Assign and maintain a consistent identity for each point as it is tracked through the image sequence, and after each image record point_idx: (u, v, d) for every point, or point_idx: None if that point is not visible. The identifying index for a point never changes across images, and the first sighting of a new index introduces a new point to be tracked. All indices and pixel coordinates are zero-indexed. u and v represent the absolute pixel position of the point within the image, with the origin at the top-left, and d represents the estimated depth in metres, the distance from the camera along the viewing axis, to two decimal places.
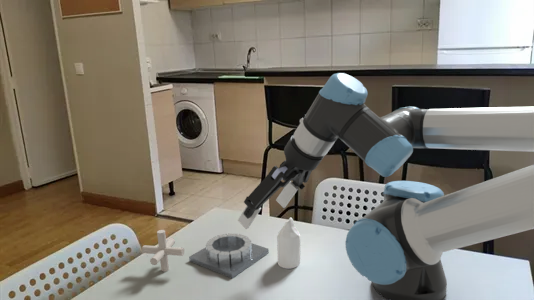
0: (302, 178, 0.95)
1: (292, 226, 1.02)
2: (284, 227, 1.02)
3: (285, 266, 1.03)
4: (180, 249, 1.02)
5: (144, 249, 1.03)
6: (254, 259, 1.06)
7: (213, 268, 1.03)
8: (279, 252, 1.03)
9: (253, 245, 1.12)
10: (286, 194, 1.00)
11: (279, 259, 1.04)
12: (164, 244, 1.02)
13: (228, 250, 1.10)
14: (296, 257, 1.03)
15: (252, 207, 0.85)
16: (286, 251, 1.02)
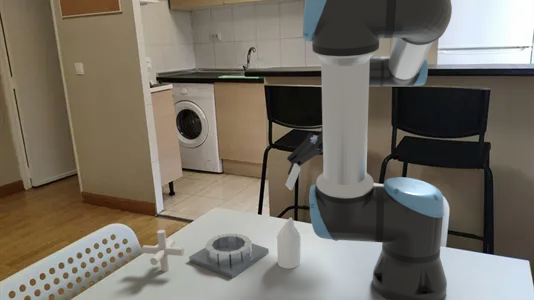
0: None
1: (292, 226, 1.02)
2: (284, 227, 1.02)
3: (285, 266, 1.03)
4: (180, 249, 1.02)
5: (144, 249, 1.03)
6: (254, 259, 1.06)
7: (213, 268, 1.03)
8: (279, 252, 1.03)
9: (253, 245, 1.12)
10: None
11: (279, 259, 1.04)
12: (164, 244, 1.02)
13: (228, 250, 1.10)
14: (296, 257, 1.03)
15: None
16: (286, 251, 1.02)
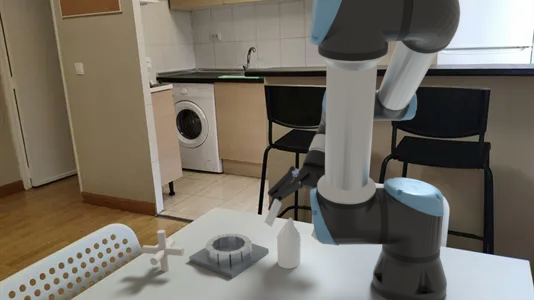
0: None
1: (292, 226, 1.02)
2: (284, 227, 1.02)
3: (285, 266, 1.03)
4: (180, 249, 1.02)
5: (144, 249, 1.03)
6: (254, 259, 1.06)
7: (213, 268, 1.03)
8: (279, 252, 1.03)
9: (253, 245, 1.12)
10: None
11: (279, 259, 1.04)
12: (164, 244, 1.02)
13: (228, 250, 1.10)
14: (296, 257, 1.03)
15: None
16: (286, 251, 1.02)
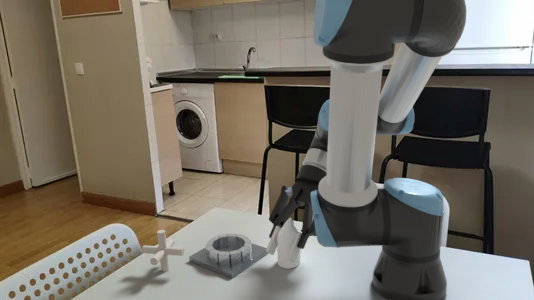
0: (307, 215, 1.03)
1: (292, 226, 1.02)
2: (284, 227, 1.02)
3: (285, 266, 1.03)
4: (180, 249, 1.02)
5: (144, 249, 1.03)
6: (254, 259, 1.06)
7: (213, 268, 1.03)
8: (278, 252, 1.03)
9: (253, 245, 1.12)
10: None
11: (279, 259, 1.04)
12: (164, 244, 1.02)
13: (228, 250, 1.10)
14: None
15: None
16: (286, 251, 1.02)
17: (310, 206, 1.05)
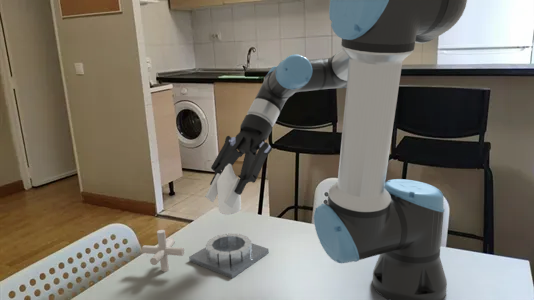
0: (246, 162, 1.04)
1: (231, 172, 1.03)
2: (222, 173, 1.03)
3: (224, 212, 1.04)
4: (180, 249, 1.02)
5: (144, 249, 1.03)
6: (254, 259, 1.06)
7: (213, 268, 1.03)
8: (218, 198, 1.05)
9: (253, 245, 1.12)
10: None
11: (219, 205, 1.05)
12: (164, 244, 1.02)
13: (228, 250, 1.10)
14: (235, 203, 1.04)
15: None
16: (224, 196, 1.03)
17: (250, 154, 1.05)
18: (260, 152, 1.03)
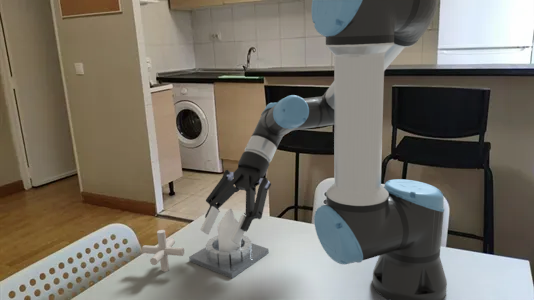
0: (249, 199, 1.05)
1: (232, 217, 1.05)
2: (223, 218, 1.05)
3: None
4: (180, 249, 1.02)
5: (144, 249, 1.03)
6: (254, 259, 1.06)
7: (213, 268, 1.03)
8: (219, 242, 1.07)
9: (253, 245, 1.12)
10: None
11: (220, 249, 1.07)
12: (164, 244, 1.02)
13: None
14: (235, 247, 1.06)
15: None
16: (225, 241, 1.05)
17: (251, 190, 1.07)
18: (261, 188, 1.05)
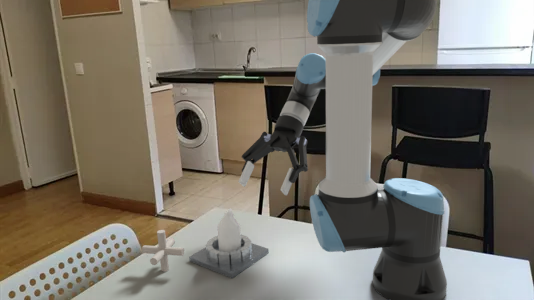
0: (292, 154, 1.14)
1: (231, 217, 1.05)
2: (223, 218, 1.05)
3: None
4: (180, 249, 1.02)
5: (144, 249, 1.03)
6: (254, 259, 1.06)
7: (213, 268, 1.03)
8: (219, 242, 1.07)
9: (253, 245, 1.12)
10: None
11: (219, 249, 1.07)
12: (164, 244, 1.02)
13: None
14: (235, 247, 1.06)
15: None
16: (225, 241, 1.05)
17: (291, 148, 1.16)
18: (301, 144, 1.14)
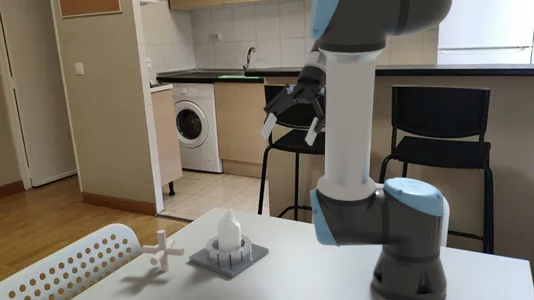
0: (317, 104, 1.09)
1: (231, 217, 1.05)
2: (223, 218, 1.05)
3: None
4: (180, 249, 1.02)
5: (144, 249, 1.03)
6: (254, 259, 1.06)
7: (213, 268, 1.03)
8: (219, 242, 1.07)
9: (253, 245, 1.12)
10: None
11: (219, 249, 1.07)
12: (164, 244, 1.02)
13: None
14: (235, 247, 1.06)
15: None
16: (225, 241, 1.05)
17: (316, 99, 1.11)
18: None
